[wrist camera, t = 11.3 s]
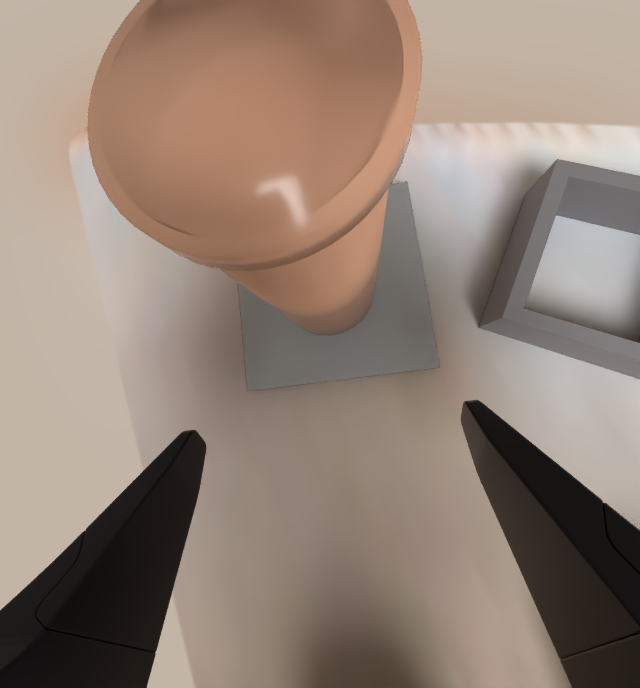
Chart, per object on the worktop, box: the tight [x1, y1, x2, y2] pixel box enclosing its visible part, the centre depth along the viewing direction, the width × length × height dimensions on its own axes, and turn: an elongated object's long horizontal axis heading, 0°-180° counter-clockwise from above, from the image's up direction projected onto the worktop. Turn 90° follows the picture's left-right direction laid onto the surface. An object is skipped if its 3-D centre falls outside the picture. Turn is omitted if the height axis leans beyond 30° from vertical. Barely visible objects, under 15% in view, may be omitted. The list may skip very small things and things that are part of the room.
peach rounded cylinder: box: [88, 0, 422, 336], centre depth 12 cm, size 8×7×13 cm
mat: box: [238, 182, 440, 391], centre depth 19 cm, size 12×12×1 cm
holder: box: [479, 159, 640, 379], centre depth 15 cm, size 9×9×3 cm
